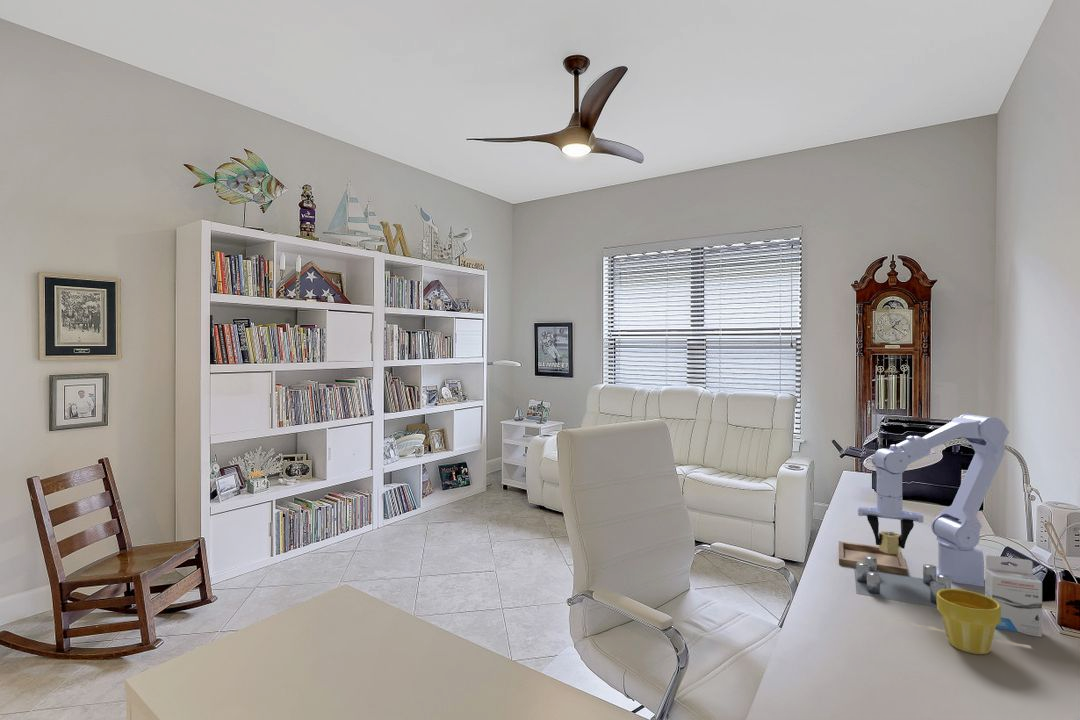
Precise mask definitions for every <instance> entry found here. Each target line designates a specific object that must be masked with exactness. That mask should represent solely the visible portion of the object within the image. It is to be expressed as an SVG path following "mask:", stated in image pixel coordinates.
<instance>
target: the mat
mask: <svg viewBox="0 0 1080 720" xmlns="http://www.w3.org/2000/svg"><path fill="white" fill-rule="evenodd" d="M853 571H854V579H855V581H854V582H855V592H856V594H857V595H861V596H867V597H873V598H880V599H885V600H891V601H898V602H901V603H908V604H913V605H917V606H918V605H919V606H924V607H931V608H936V609H937V605H936V604H933V603H931V602H930V585H926V584H924V583H923V577H916V576H910V575H909V576H908V575H904V574H898V573H891V572H885V571H878V570H877V573H878V574H880V594H871V593H869V592H868V591H867V584H865V583H860V582H858V581H857V570H856V567H854V570H853Z"/></svg>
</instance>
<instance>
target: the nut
mask: <svg viewBox="0 0 1080 720" xmlns="http://www.w3.org/2000/svg"><path fill="white" fill-rule="evenodd" d="M878 546H879V550H880V551H883V552H885V553H888V554H899V553H900V552H902V548H901V533H900V534H899V533H897V532H894V531H888V530H885V531H884V530H882V531H880V532H879V545H878Z"/></svg>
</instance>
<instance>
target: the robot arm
mask: <svg viewBox="0 0 1080 720" xmlns="http://www.w3.org/2000/svg"><path fill="white" fill-rule="evenodd" d="M1009 433H1010V431H1009V429H1008V428H1007V426H1006V424H1005V423H1004V422H1003V420H1001V419H1000V418H999V417H996V416H993V417H992V416H991V417H990V416H983V415H979V414H978V415H976V414H972V413H964V414H961V415H960V416H956V417H953V419H952V420H951V421H950V422H948V423H946V424H944V425H942V426H941V427H939V428H937V429H935V430H933V431H932V432H929V433H928V434H925V435H924V436H922V437H921V436H918V435H908V436H906V437H905V440H902V441H900V442H899V443H896V444H890V446H889V448H879V449H877V450H876V451H875V452H874V454H873V456H872V457H871V463H872V465H873V467H874V468H875V473H876V507H865V506H864V507H862V506H861V507H860V506H858V507H857V516H859V517H863V516H865V517H866V518H867V521H868V524H869V525H870V527H871V530H872V532H873V535H874V539H875V544H876V545H875V546H879V533H880V532H879V529H880V528H879V527H880V526H879V525H880V522H879V518H884V519H891V520H900V535H901V549H905V548H906V542H907V539H908V538H909V535H910V533H911V532H912V531H913V528H914V526H915V524H914V522H916V523H921V524H924V515H923V513H921V512H920V513H919V512H913V511H908V510H903V473H904V472H905V471H906V470H907V468H908V466H909V465H910V464H913V463H915V462H916V461H917V462H918V461H919V460H921V459H924V458H925V457H927V456H929V455H930V454H931V450H932V449H933V448H936V447H939V446H940V445H944V444H946V443H948V442H951V441H954V440H956V439H959V438H962V439H964V440H965V441H966V442H968V444H970V445H971V447H972V449H973V451H974V455H973V457H972V460H971V461H970V464H969V466H968V467H967V468H968V469H967V471H966V472H965V475H964V477H963V478H962V481H961V483H960V485H959V488H958V490H957V493H956V494H955V497H954V498H953V501H952V503H951V505H949V506H946V507H944V508H942V509H941V511H940V513H939V514H938V515H937V516H936V517H934V518H933V520H932V522H931V526H930V527H931V531H932V533H933V534H934V535H935V536H936V541H937V557H938V558H937V560H938V561H937V568H936V575H937V574H944V575H948V576H950V577H951V583H958V584H964V585H970V586H978V587H985V559H984V553H983V550H982V549H981V548H979V547H977V545H978V544H979V543H980V539H981V536H980V535H981V534H980V531H981V528H982V523H981V522H980V519H979V518H978V516H977V515H978V513H979V510H980V508H981V506H982V504H983V502H984V500H985V497H986V495H987V493H988V491H989V489H990V486H991V485H992V482H993V480H994V477H995V476H996V473H997V471H998V469H999V466H1000V465H1001V463H1002V460H1003V458H1004V455H1005V442H1006V439H1007V438H1008V436H1009Z"/></svg>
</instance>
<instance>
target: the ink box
mask: <svg viewBox="0 0 1080 720" xmlns="http://www.w3.org/2000/svg"><path fill="white" fill-rule="evenodd" d="M985 557H986V559H985V560H986V561H985V562H986V564H985V567H986V568H984V585H985V586H984V587H985V588H984V595H985V596H987V597H990V598H992V599H994V600H995V601H997V602H998V603H999V604H1000V607H1001V621H1000V623H999V624H998V625H996V628H995V629H999V630H1006V631H1011V632H1017V633H1019V632H1020V633H1022V635H1026V636H1033V637H1038V638H1039V637H1040V638H1042V637H1043V582H1042V581H1041V580H1040V579H1039V578H1038V577H1037V576H1036V575H1034V574H1033V565H1034V562H1033V561H1032V560H1031V559H1024V558H1015V557H1007V556H1002V555H1001V556H999V555H990V554H989V555H986V556H985ZM1002 563H1011V564H1016V565H1006V564H1002Z"/></svg>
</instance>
